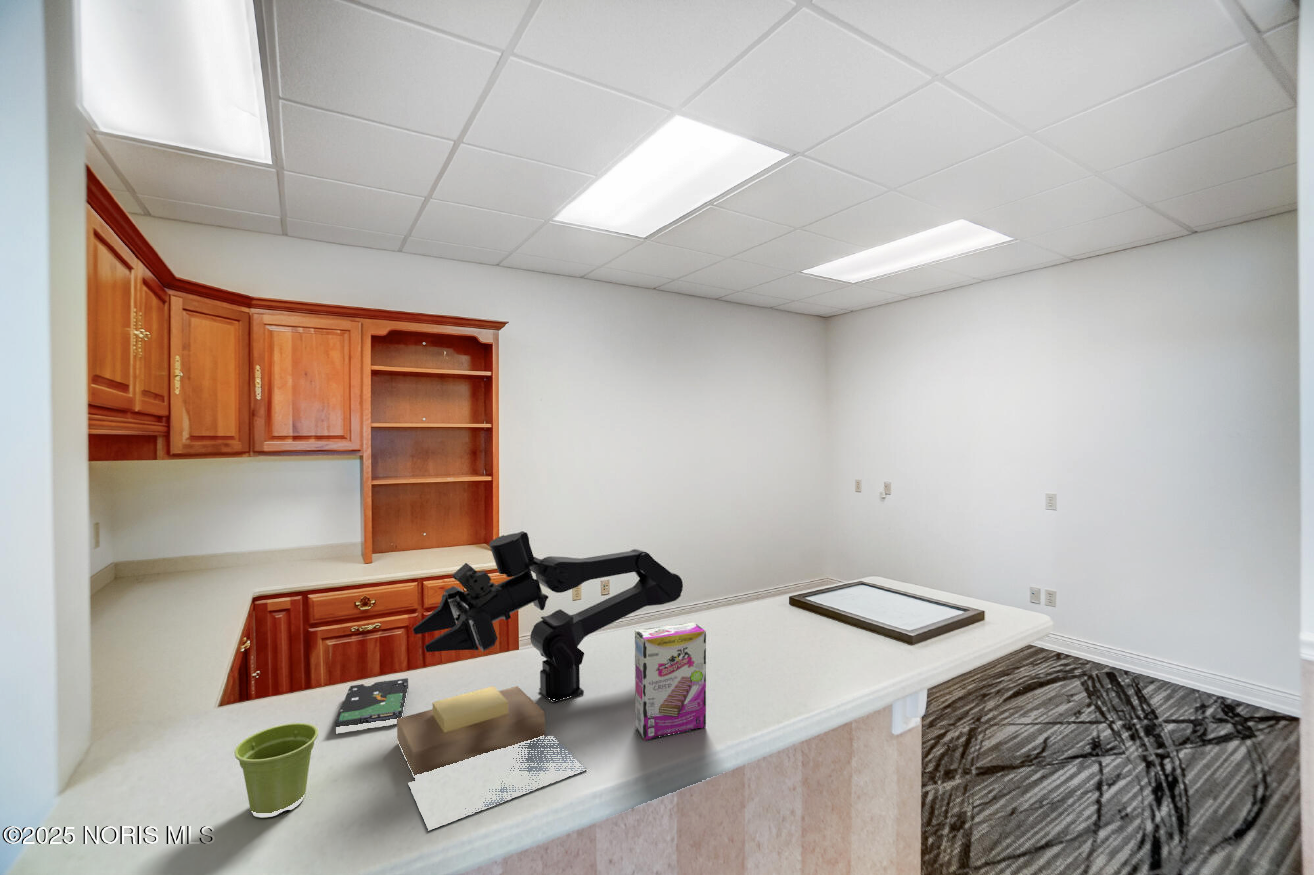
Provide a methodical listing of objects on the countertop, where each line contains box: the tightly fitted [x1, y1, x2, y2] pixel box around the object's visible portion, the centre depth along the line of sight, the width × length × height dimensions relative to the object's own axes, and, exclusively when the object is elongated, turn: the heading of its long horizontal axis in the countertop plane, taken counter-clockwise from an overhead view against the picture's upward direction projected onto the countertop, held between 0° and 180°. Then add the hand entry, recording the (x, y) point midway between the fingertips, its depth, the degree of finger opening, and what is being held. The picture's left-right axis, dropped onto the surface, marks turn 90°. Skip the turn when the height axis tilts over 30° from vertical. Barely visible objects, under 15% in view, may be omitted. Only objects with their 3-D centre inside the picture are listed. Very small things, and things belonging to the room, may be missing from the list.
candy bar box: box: [634, 622, 707, 741], centre depth 96 cm, size 11×5×16 cm, turn 111°
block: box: [432, 686, 508, 733], centre depth 94 cm, size 10×7×2 cm
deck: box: [396, 685, 546, 776], centre depth 93 cm, size 20×12×4 cm, turn 125°
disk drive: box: [334, 677, 409, 728], centre depth 104 cm, size 10×3×15 cm
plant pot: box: [234, 722, 319, 813], centre depth 78 cm, size 9×9×9 cm
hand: (419, 639), depth 96 cm, fingers open, 9 cm apart
